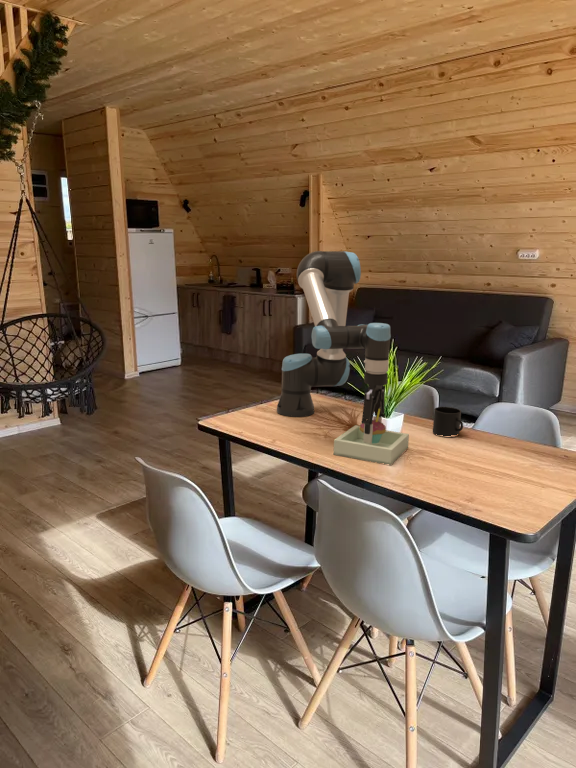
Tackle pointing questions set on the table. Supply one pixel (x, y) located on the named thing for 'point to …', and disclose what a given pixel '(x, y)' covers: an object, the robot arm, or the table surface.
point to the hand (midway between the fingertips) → (372, 439)
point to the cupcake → (375, 429)
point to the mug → (447, 421)
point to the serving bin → (371, 446)
